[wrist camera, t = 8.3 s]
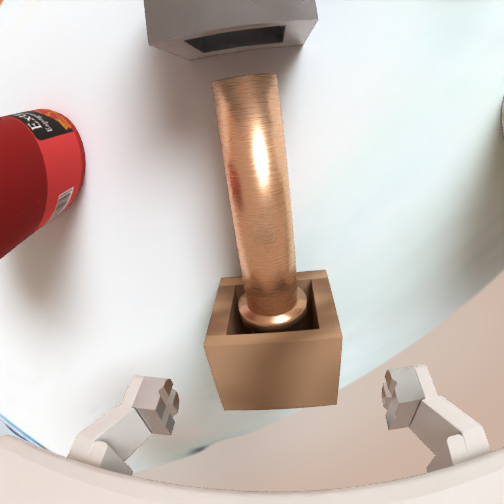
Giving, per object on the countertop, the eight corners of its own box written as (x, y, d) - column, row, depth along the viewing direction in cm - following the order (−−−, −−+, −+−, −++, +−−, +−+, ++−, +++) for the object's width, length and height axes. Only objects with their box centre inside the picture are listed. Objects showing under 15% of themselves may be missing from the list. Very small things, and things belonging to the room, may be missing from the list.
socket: (325, 269, 22) (342, 337, 16) (325, 335, 24) (336, 404, 18) (221, 278, 22) (203, 345, 16) (234, 341, 25) (224, 410, 19)
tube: (285, 76, 15) (289, 70, 11) (306, 325, 22) (310, 366, 18) (210, 86, 15) (191, 83, 12) (249, 329, 22) (244, 370, 19)
